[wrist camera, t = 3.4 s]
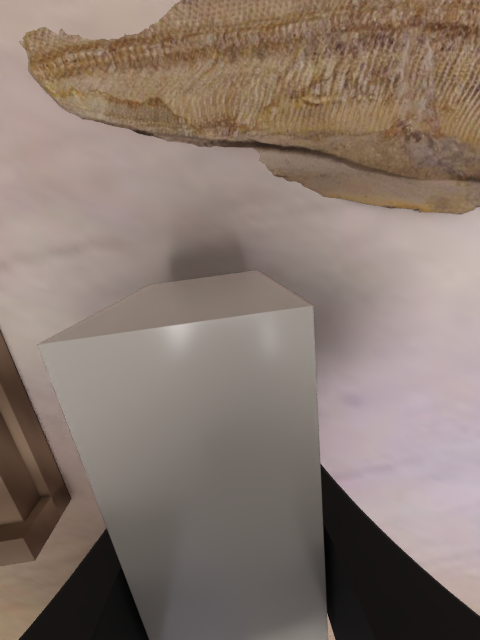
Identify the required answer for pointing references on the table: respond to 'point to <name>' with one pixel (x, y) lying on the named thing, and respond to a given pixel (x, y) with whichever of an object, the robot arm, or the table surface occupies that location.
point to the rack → (24, 473)
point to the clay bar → (204, 453)
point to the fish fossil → (297, 90)
